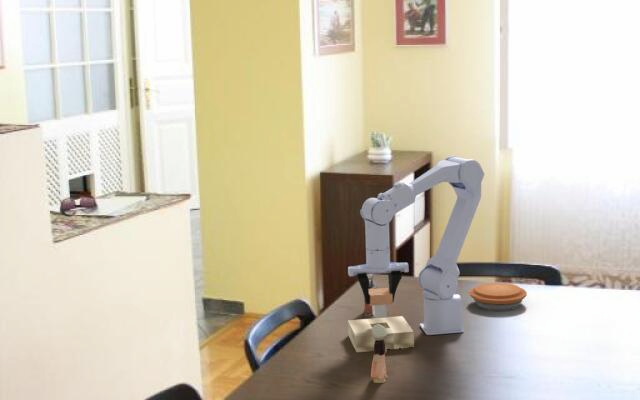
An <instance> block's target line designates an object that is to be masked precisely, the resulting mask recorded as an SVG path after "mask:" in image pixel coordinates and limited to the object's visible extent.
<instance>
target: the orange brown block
mask: <svg viewBox="0 0 640 400" xmlns="http://www.w3.org/2000/svg"><path fill="white" fill-rule="evenodd" d="M369 304H370V306H372V310H373V315H374V316H373V318H385V317H388V305H393V304H394V302H393V297H392V293H391V291H390V290H389V287H379V288H376V289H369Z"/></svg>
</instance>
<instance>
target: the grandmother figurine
mask: <svg viewBox="0 0 640 400" xmlns="http://www.w3.org/2000/svg"><path fill="white" fill-rule="evenodd" d="M372 333H373V334H372V336H373V338H374V339H375V344H374V351H373V352H374V353H373V359H372V363H371V371H370V377H371V378H373V380H372V381H373V383H374V384H385V383H386V382H387V380H386V379H388V375H387V367H386V366H387V365H386V353H387V350H386V347H385V342H384V340H383V338H384V337H385V336H386V335H387V331H386V329H385V327H384V326H382V325H380V324H376V325H374V326H373V328H372Z"/></svg>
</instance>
